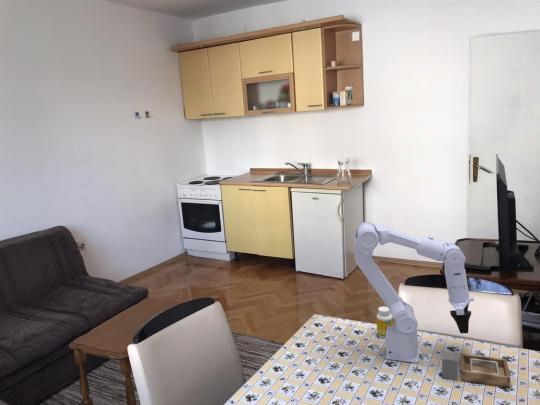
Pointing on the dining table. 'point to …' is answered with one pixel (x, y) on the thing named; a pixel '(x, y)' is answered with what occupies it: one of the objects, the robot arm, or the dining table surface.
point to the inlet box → (485, 370)
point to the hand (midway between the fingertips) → (464, 326)
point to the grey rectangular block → (450, 366)
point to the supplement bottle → (383, 321)
